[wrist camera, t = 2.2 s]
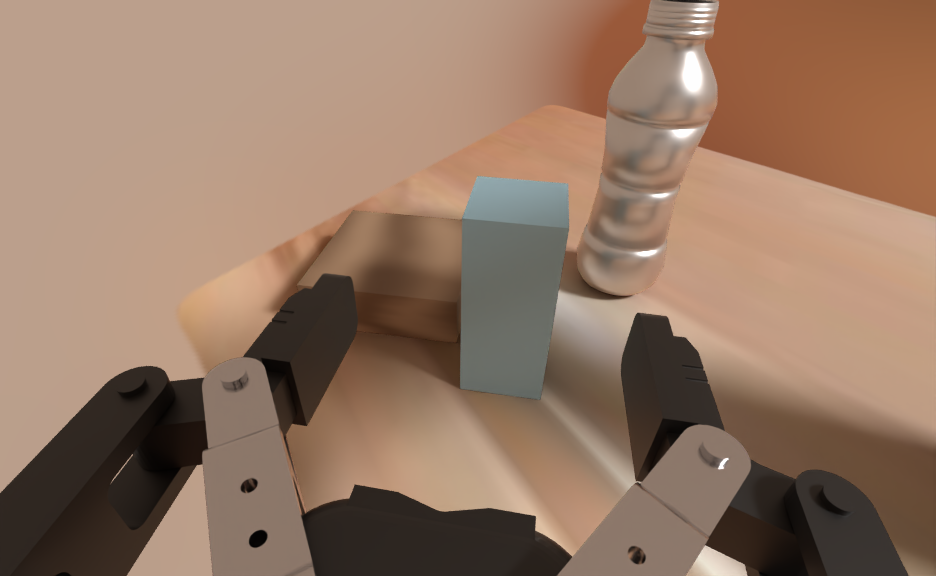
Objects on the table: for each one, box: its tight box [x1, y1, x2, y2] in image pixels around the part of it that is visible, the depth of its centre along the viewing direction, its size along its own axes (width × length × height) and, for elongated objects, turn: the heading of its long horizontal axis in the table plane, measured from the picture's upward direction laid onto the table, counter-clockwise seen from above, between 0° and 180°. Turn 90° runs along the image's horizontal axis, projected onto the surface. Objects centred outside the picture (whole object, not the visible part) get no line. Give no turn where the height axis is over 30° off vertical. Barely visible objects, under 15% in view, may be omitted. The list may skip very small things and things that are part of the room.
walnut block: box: [297, 210, 462, 343], centre depth 37 cm, size 11×11×4 cm
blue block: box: [460, 176, 569, 400], centre depth 27 cm, size 5×5×12 cm
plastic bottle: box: [577, 0, 719, 296], centre depth 33 cm, size 6×7×20 cm
